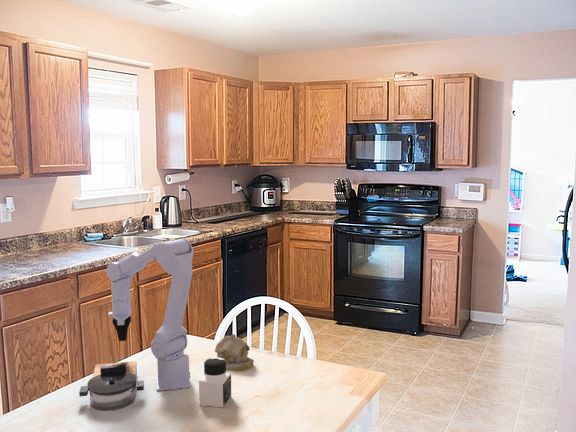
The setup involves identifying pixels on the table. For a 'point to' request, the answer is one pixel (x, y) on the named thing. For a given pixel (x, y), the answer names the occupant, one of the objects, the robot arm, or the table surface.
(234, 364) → the ceramic model
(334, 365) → the table surface
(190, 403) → the table surface
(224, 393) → the medicine bottle
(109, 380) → the lid
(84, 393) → the cooker
